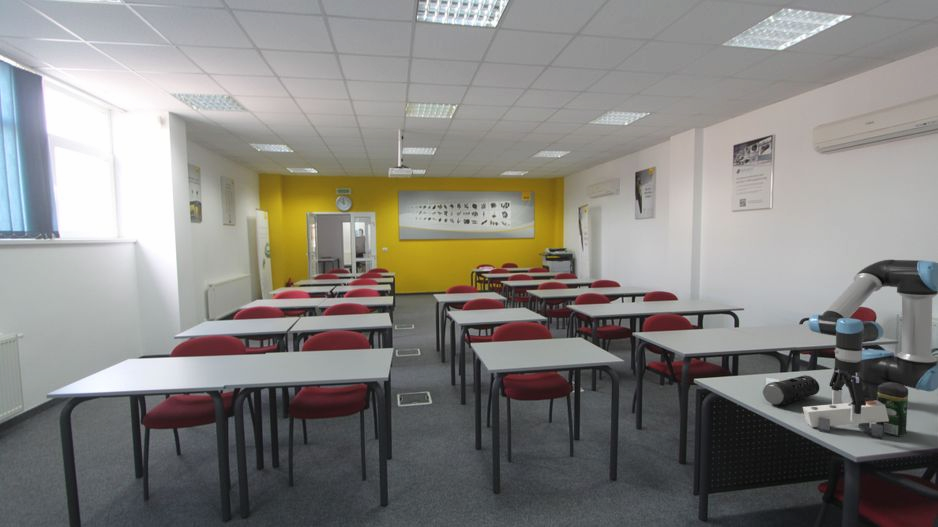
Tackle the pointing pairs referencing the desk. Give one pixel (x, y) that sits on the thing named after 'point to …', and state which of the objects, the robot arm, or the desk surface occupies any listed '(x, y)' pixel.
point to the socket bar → (845, 413)
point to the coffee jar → (894, 407)
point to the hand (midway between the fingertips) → (845, 413)
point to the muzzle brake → (790, 390)
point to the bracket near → (872, 429)
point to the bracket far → (823, 425)
